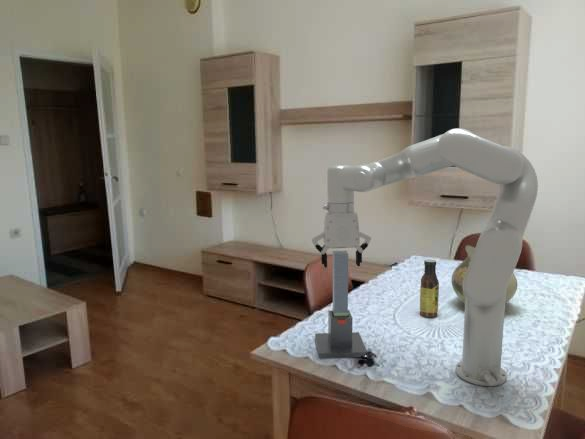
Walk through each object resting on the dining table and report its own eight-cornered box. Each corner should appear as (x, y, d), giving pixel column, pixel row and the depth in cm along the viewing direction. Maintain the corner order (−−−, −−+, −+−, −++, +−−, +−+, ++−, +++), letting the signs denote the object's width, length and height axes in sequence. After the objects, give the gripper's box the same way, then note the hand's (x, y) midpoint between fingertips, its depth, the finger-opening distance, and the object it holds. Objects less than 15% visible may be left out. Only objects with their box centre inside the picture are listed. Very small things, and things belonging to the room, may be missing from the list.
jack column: (348, 326, 139) (348, 253, 135) (333, 326, 139) (334, 254, 135) (345, 320, 143) (346, 250, 139) (332, 321, 143) (332, 250, 139)
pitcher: (475, 321, 160) (479, 250, 156) (436, 299, 183) (439, 236, 179) (529, 314, 166) (535, 246, 162) (485, 294, 189) (489, 233, 185)
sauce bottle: (438, 318, 163) (440, 263, 160) (420, 317, 164) (422, 262, 161) (436, 312, 169) (439, 258, 166) (419, 311, 171) (420, 258, 167)
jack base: (367, 356, 135) (367, 322, 134) (319, 358, 135) (318, 323, 133) (358, 336, 149) (359, 305, 147) (315, 337, 149) (314, 306, 147)
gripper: (311, 211, 131) (313, 270, 134) (373, 208, 131) (373, 268, 134) (310, 207, 138) (311, 263, 141) (368, 205, 139) (368, 261, 142)
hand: (341, 265), depth 138 cm, fingers open, 9 cm apart
